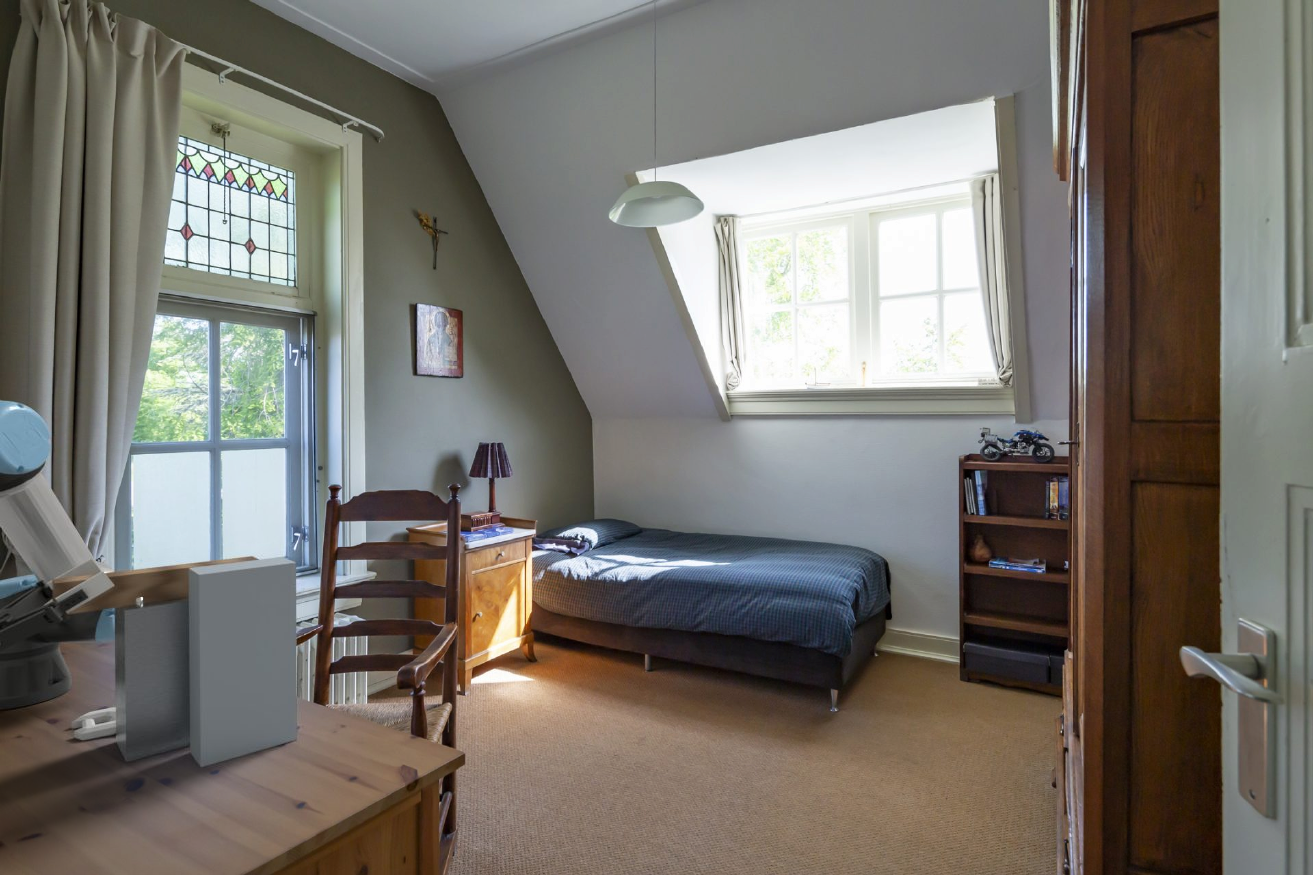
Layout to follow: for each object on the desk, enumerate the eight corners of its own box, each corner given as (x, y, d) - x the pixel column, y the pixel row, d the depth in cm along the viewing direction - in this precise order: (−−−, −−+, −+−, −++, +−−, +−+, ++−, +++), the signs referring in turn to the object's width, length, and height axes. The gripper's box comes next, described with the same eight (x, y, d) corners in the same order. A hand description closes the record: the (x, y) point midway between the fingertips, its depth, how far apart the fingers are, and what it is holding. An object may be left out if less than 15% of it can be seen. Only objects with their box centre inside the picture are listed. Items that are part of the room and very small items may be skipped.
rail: (55, 616, 109) (54, 583, 108) (52, 611, 111) (52, 579, 111) (259, 587, 128) (258, 559, 128) (252, 583, 131) (252, 556, 131)
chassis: (116, 741, 120) (114, 589, 119) (224, 714, 131) (223, 575, 130) (126, 762, 113) (124, 600, 112) (240, 731, 124) (239, 584, 123)
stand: (190, 752, 116) (188, 567, 115) (283, 726, 126) (282, 556, 125) (200, 767, 111) (199, 574, 110) (297, 739, 121) (296, 562, 120)
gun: (195, 685, 136) (193, 704, 127) (197, 703, 136) (194, 723, 128) (73, 710, 127) (61, 732, 118) (75, 729, 127) (63, 752, 118)
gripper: (-42, 662, 112) (105, 577, 124) (-42, 709, 94) (130, 604, 107) (-77, 626, 109) (77, 542, 122) (-84, 666, 91) (98, 564, 104)
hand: (102, 571), depth 114 cm, fingers open, 13 cm apart
